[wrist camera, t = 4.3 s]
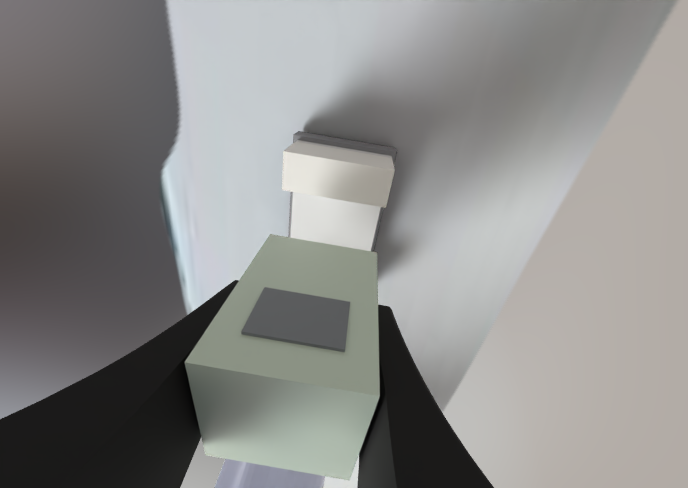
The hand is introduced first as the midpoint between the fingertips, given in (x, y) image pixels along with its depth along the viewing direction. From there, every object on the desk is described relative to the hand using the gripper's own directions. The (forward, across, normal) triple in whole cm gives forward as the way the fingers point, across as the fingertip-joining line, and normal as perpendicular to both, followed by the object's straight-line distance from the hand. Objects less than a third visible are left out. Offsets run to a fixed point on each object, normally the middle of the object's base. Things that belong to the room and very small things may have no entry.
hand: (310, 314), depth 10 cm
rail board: (+7, 0, 0) cm, 7 cm away
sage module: (+2, 0, 0) cm, 2 cm away
